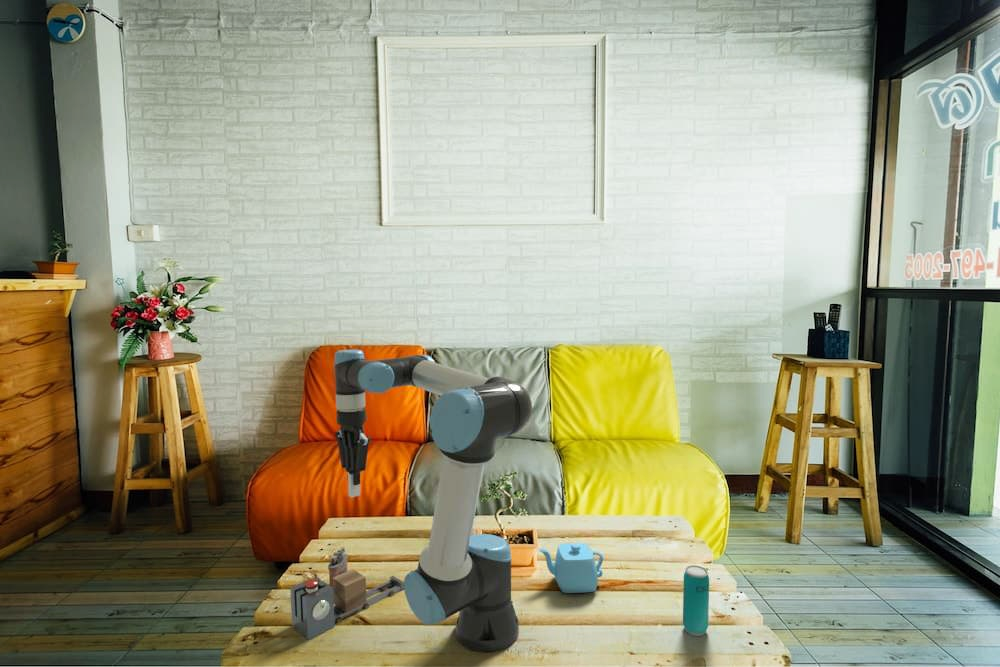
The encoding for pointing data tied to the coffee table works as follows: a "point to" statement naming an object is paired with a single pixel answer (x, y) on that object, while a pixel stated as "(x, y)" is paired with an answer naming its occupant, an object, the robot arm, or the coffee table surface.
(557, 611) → the coffee table surface
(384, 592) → the rail track
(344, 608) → the carriage
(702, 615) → the beverage can
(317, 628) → the gauge cabinet
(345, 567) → the red pack with sticks
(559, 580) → the teapot
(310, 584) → the gauge plunger
